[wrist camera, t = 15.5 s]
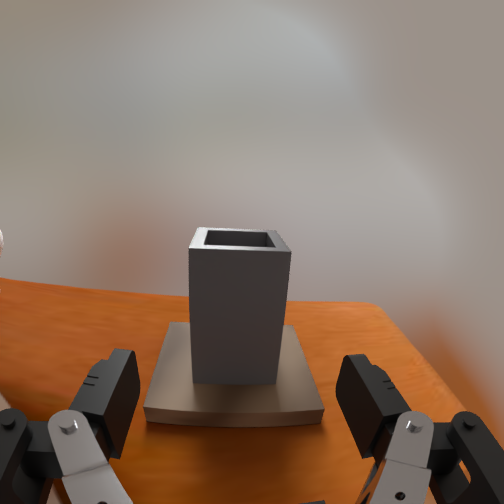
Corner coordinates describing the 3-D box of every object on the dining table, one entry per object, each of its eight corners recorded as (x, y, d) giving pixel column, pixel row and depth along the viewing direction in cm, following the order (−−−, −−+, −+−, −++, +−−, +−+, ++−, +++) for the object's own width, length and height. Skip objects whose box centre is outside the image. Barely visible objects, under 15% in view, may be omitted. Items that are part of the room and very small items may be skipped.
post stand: (146, 421, 18) (127, 314, 15) (171, 334, 29) (167, 252, 27) (320, 423, 19) (346, 320, 16) (290, 337, 30) (300, 257, 28)
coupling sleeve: (192, 383, 20) (188, 248, 18) (198, 340, 26) (198, 227, 23) (275, 384, 21) (291, 251, 18) (266, 341, 27) (275, 230, 24)
